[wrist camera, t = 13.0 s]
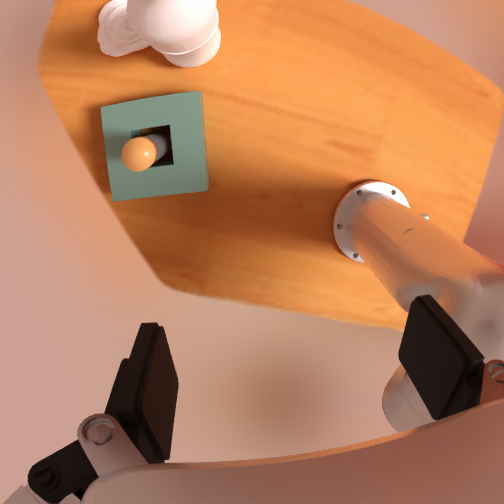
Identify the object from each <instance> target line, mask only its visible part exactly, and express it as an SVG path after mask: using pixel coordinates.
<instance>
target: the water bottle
mask: <svg viewBox="0 0 504 504" xmlns="http://www.w3.org/2000/svg"><path fill="white" fill-rule="evenodd" d="M126 14H127V18H128V22H129V24H130V26H131V27H132V29H133V30H134V31H135V33H136V34H137V35H139V36H140V37H141V38H143V39H145V40H146V41H147V42H148V43H149V44H150V45H151V46H152V47H153V48H154V49H155V50H157V51H158V52H160V53H163V55H164V56H165V58H166V59H167V60H169V61H170V62H171V63H173V64H175V65H177V66H180V67H185V68H193V67H198V66H201V65H203V64H204V63H206V62H207V61H209V60H210V59H211V58H213V57H214V56H215V54H216V53H217V51H218V49H219V46H220V41H221V37H220V30H219V28H218V21H219V18H218V11H217V9H216V0H127V5H126Z"/></svg>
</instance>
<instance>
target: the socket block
mask: <svg viewBox="0 0 504 504" xmlns="http://www.w3.org/2000/svg"><path fill="white" fill-rule="evenodd" d="M101 118H102V128H103V137H104V145H105V153H106V160H107V167H108V174H109V181H110V187H111V193H112V198H113V202H115V201H123V200H131V199H139V198H147V197H155V196H164V195H173V194H183V193H193V192H204V191H207V190H208V186H209V174H208V163H207V152H206V140H205V127H204V114H203V101H202V93H201V92H199V91H194V92H185V93H177V94H170V95H163V96H157V97H151V98H145V99H139V100H133V101H128V102H123V103H118V104H113V105H109V106H104V107H101ZM164 125H170V131H171V142H172V151H173V160H170V161H162V162H155V163H153V164H152V165H151V166H150V167H148V168H147V169H146V170H143V171H140V172H135V171H131V170H129V169H128V168H127V167H126V166H125V165H124V163H123V161H122V149H123V147H124V145H125V144H126V143H127V142H128V141H129V140H131V139H134V138H137V137H141V129H144V128H150V127H157V126H164Z"/></svg>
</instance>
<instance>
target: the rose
mask: <svg viewBox="0 0 504 504" xmlns="http://www.w3.org/2000/svg"><path fill="white" fill-rule="evenodd" d="M126 5H127V0H112V1H110V2H108V3H107V4H106V5H105V6H104V7H103V8H102V10H101V12H100V14H99V17H98V21H99V29H98V34H97V40H98V43H100V49H101V51H102V52H103V53H104V54H106V55H110V56H114V57H119V56H123V55H126V54H128V53H131V52H134V51H139V50H142V49H144V48H146V47H148V46H150V44H149V43H148V42H147V41H146V40H145V39H143V38H141V37H140V36H139V35H137V34H136V33H135V31H134V30H133V29H132V27H131V26H130V24H129V22H128V18H127V14H126Z"/></svg>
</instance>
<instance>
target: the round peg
mask: <svg viewBox="0 0 504 504" xmlns="http://www.w3.org/2000/svg"><path fill="white" fill-rule="evenodd" d="M171 148H172V142H171V138H170V136H169V135H168V134H166V133H164V132H158V133H154V134H151V135H147V136H144V137H137V138H134V139H131V140H129V141H128V142H127V143H126V144H125V145H124V147H123V149H122V161H123V163H124V165H125V166H126V167H127V168H128V169H129V170H131V171H135V172H140V171H143V170H146V169H147V168H148V167H150V166H151V165H152V164H153V163H154V162H155V161H157V160H158V159H160V158H161V157H163V156H164V155H166V154H167V153H169V151H170V150H171Z"/></svg>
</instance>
